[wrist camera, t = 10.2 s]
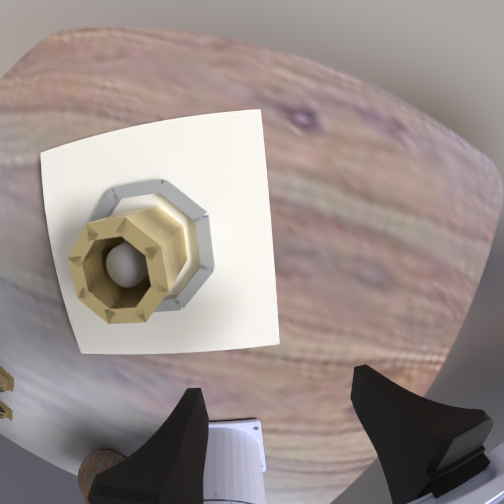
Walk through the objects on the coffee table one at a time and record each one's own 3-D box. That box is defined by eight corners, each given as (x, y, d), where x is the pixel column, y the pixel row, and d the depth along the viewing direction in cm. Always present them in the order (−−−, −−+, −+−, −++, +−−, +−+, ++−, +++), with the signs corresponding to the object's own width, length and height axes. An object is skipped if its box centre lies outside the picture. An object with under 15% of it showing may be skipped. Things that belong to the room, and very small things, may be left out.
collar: (191, 279, 19) (175, 320, 13) (122, 286, 19) (85, 324, 13) (181, 203, 18) (156, 212, 12) (109, 213, 17) (61, 227, 12)
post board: (276, 334, 22) (290, 381, 16) (88, 344, 21) (57, 384, 15) (258, 114, 18) (269, 87, 12) (51, 153, 17) (2, 149, 12)
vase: (94, 433, 24) (70, 490, 15) (149, 460, 25) (136, 519, 17) (84, 455, 25) (64, 504, 16) (132, 479, 26) (119, 530, 18)
